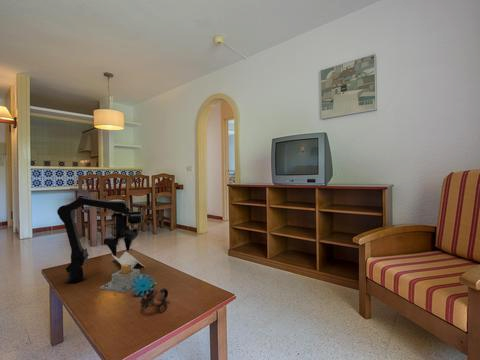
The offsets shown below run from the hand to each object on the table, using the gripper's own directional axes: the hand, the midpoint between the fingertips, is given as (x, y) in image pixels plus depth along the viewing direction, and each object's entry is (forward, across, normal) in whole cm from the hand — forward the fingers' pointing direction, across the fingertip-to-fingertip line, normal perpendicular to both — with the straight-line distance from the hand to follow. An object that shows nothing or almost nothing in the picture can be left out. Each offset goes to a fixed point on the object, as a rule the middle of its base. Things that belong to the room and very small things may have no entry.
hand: (121, 253), depth 131 cm
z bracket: (+12, +15, +9) cm, 22 cm away
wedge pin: (+11, -7, -9) cm, 16 cm away
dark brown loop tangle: (+12, -22, -38) cm, 46 cm away
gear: (+12, -13, -24) cm, 30 cm away
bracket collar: (+12, -7, -9) cm, 17 cm away
